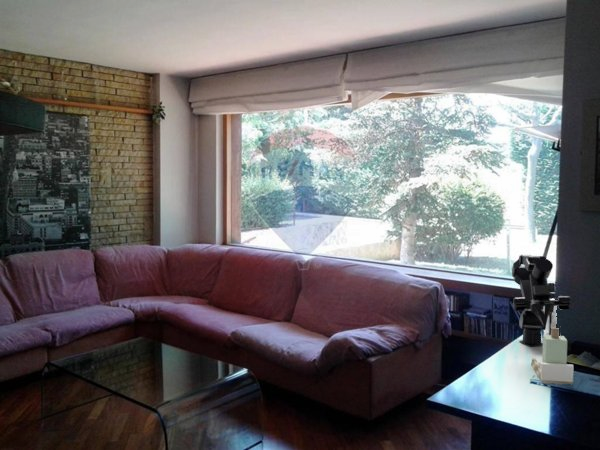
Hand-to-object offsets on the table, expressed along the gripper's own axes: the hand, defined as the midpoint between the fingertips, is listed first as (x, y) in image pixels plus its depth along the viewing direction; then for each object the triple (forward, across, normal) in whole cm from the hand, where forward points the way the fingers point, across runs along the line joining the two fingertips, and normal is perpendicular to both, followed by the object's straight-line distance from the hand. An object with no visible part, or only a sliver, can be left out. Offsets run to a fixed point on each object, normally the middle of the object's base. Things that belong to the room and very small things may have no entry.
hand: (544, 325), depth 187 cm
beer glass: (-10, +5, +33) cm, 35 cm away
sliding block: (+20, 0, -6) cm, 21 cm away
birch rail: (+18, 0, -2) cm, 19 cm away
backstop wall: (+23, 0, -8) cm, 25 cm away
